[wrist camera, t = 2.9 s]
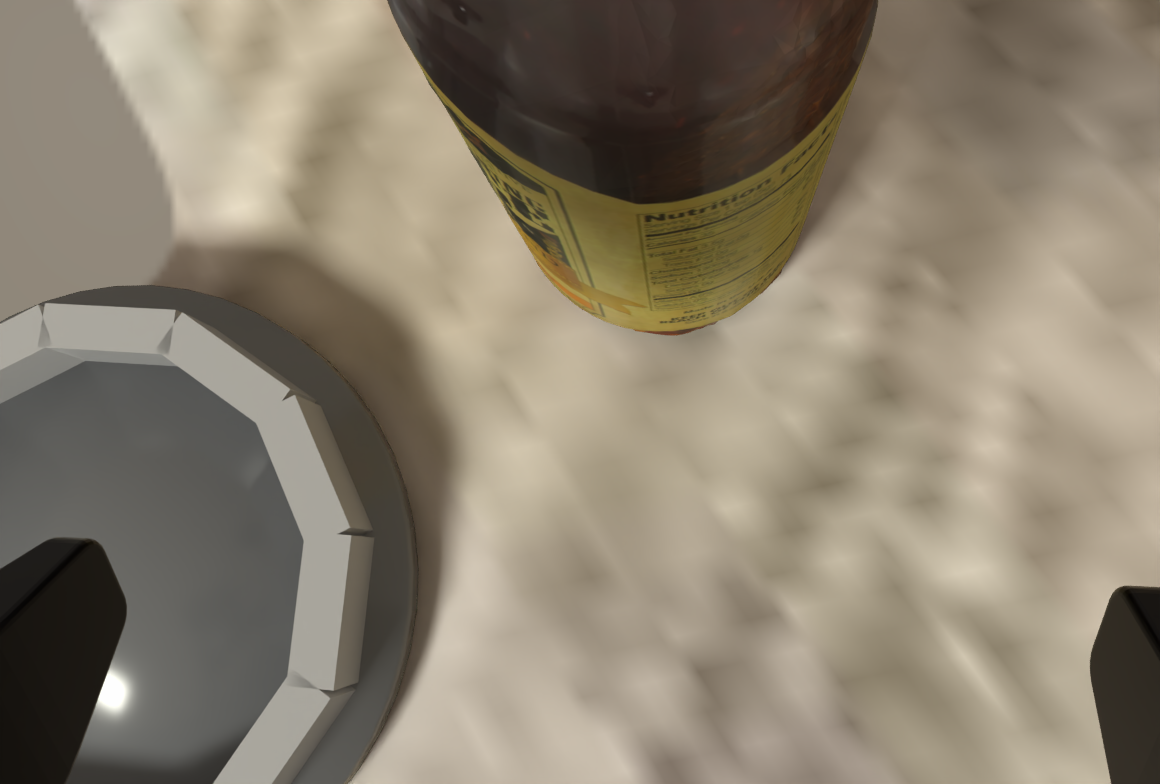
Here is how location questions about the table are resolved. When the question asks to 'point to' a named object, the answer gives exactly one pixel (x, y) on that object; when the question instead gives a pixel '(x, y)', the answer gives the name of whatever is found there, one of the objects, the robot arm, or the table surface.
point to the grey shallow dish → (213, 533)
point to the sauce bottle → (647, 136)
